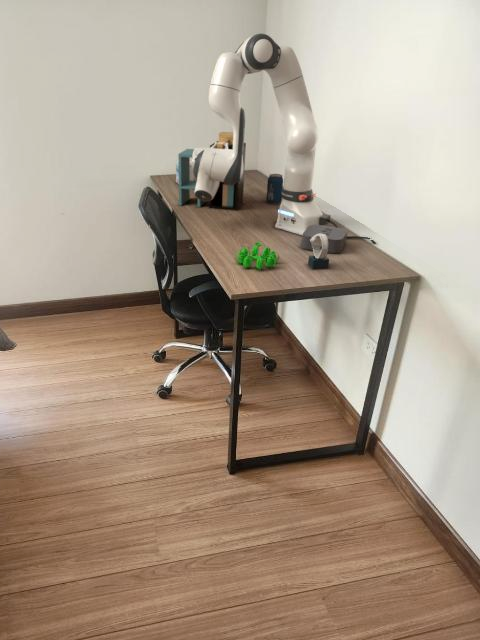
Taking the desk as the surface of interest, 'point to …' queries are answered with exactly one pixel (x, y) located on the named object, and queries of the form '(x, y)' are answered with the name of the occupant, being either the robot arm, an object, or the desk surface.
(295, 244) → the desk surface
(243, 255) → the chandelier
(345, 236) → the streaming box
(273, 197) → the soda can
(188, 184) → the stand
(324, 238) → the watch
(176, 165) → the light bulb box
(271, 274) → the desk surface
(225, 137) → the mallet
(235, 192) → the shelf
